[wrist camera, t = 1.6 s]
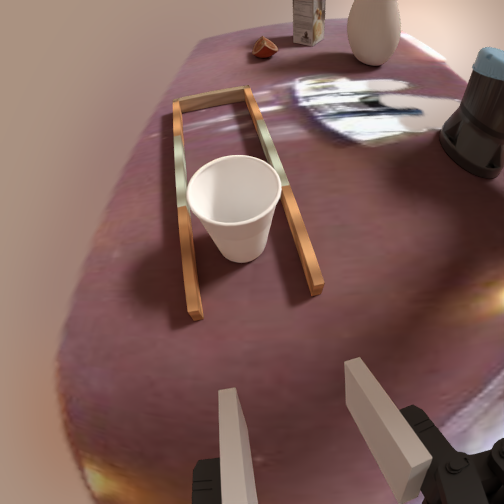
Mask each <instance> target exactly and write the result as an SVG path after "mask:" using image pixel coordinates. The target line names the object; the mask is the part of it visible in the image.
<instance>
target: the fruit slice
mask: <svg viewBox="0 0 504 504" xmlns="http://www.w3.org/2000/svg"><path fill="white" fill-rule="evenodd" d="M277 51H278V48H277V47H276V45H275V44H274V43H273V42H271V41H270V40H268V39H267V38H265V37H263V36H262V37H261V38H260V39H258V41H257V42H256V43H255V46H254V48H253V51H252V54H253V55H255V56H256V57H259V58H266V57H270V56H272V55H274V54H275V53H276V52H277Z"/></svg>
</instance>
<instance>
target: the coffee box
mask: <svg viewBox="0 0 504 504" xmlns="http://www.w3.org/2000/svg"><path fill="white" fill-rule="evenodd" d="M324 28H325V0H293V42H294V43H298V44H303V45H308V46H314V45H315V44H317V43H318V42H320V41H321V40H322V39H324Z"/></svg>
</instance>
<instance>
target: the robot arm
mask: <svg viewBox="0 0 504 504" xmlns="http://www.w3.org/2000/svg"><path fill="white" fill-rule="evenodd" d="M472 68H473V71H472V74H471V76H470V79H469V82H468V85H467V88H466V90H465V93H464V96H463V98H462V101H461V104H460V106H459V108H458V109H457V110H456V111H455V112H454V113H453V114H452V115H451V117H450V118H449V119H448V120H447V121H446V122H445V123H444V125H443V127H442V129H441V132H440V135H439V138H440V142H441V145H442V147H443V148H444V150H445V151H446V153H447V154H448V155H449V156H450V157H451V158H452V159H453V160H454V161H455V162H456V163H457V164H458V165H460V166H461V167H462V168H464V169H465V170H467V171H469V172H470V173H472V174H474V175H477V176H480V177H483V178H495V177H497V176H498V175H499V173H500V172H501V170H502V168H503V167H504V51H503V50H500V49H496V48H490V47H485V48H482V49H481V50H480V51H479V53H478V55H477V58H476V61H475V63H474V64H473V66H472ZM344 367H345V393H346V406H347V408H348V409H349V411H350V413H351V415H352V417H353V419H354V421H355V422H356V424H357V426H358V428H359V430H360V432H361V434H362V436H363V437H364V439H365V441H366V443H367V445H368V447H369V449H370V451H371V452H372V454H373V456H374V458H375V460H376V462H377V464H378V466H379V467H380V469H381V471H382V473H383V475H384V477H385V479H386V481H387V483H388V485H389V486H390V488H391V490H392V492H393V494H394V496H395V498H396V500H397V502H398V504H403V503H405V502H408V501H410V500H412V499H414V498H416V497H418V495H419V492H420V490H421V492H422V493H423V495H424V497H425V498H424V500H423V502H422V504H504V438H502V439H500V440H498V441H497V442H496V443H495V444H494V445H493V448H492V449H491V450H488V451H484V452H481V453H477V454H473V455H467V454H466V453H463V452H457V451H456V450H455V449H454V448H453V447H452V446H451V445H450V443H449V442H448V441H447V440H446V438H445V437H444V436H443V435H442V433H441V432H440V431H439V430H438V428H437V427H436V426H435V424H434V423H433V422H432V421H431V420H430V419H429V417H428V416H427V415H426V413H425V412H424V411H423V410H422V409H420V408H418V407H416V406H414V405H410V406H408V407H406V408H403V409H401V410H398V408H397V407H396V406H395V404H394V403H393V402H392V400H391V399H390V397H389V396H388V395H387V393H386V392H385V391H384V389H383V388H382V387H381V385H380V384H379V382H378V381H377V380H376V378H375V377H374V376H373V374H372V373H371V372H370V370H369V369H368V368H367V366H366V365H365V363H364V362H363V361H362V359H361V358H360V357H358V358H355V359H351V360H348V361H345V362H344ZM218 394H219V440H220V458H213V459H205V460H199V461H198V462H197V464H196V466H195V468H194V470H193V484H192V490H193V492H192V504H258V500H257V493H256V487H255V480H254V472H253V465H252V458H251V451H250V443H249V436H248V428H247V425H246V422H245V418H244V415H243V412H242V408H241V405H240V401H239V398H238V395H237V391H236V388H230V389H224V390H218Z"/></svg>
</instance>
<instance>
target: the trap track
mask: <svg viewBox="0 0 504 504" xmlns="http://www.w3.org/2000/svg"><path fill="white" fill-rule="evenodd" d="M241 101H245V102H246V105H247V107H248V110H249V112H250V115H251V118H252V121H253V123H254V126H255V129H256V131H257V134H258V137H259V140H260V142H261V145H262V148H263V151H264V154H265V156H266V159H267V162H268V164H269V165H270V166H271V167H273V168H274V169H275V171H276V172H277V174H278V175H279V178H280V181H281V188H282V191H281V195H280V199H281V202H282V205H283V208H284V211H285V214H286V217H287V220H288V223H289V226H290V229H291V233H292V236H293V239H294V242H295V245H296V248H297V251H298V254H299V257H300V260H301V264H302V267H303V270H304V273H305V276H306V280H307V283H308V286H309V289H310V293H311V296H314V295H319V294H321V293H322V290H323V287H324V284H325V283H324V280H323V277H322V274H321V271H320V268H319V265H318V262H317V259H316V256H315V253H314V251H313V248H312V245H311V242H310V239H309V236H308V233H307V231H306V228H305V225H304V222H303V220H302V217H301V214H300V211H299V209H298V206H297V203H296V201H295V198H294V195H293V193H292V190H291V187H290V185H289V182H288V179H287V177H286V174H285V172H284V169H283V167H282V164H281V161H280V159H279V156H278V154H277V151H276V149H275V146H274V144H273V141H272V139H271V136H270V134H269V132H268V129H267V127H266V124H265V122H264V120H263V117H262V115H261V112H260V110H259V108H258V105H257V103H256V101H255V98H254V96H253V94H252V91H251V89H250V87H249V85H246V86H240V87H234V88H228V89H222V90H216V91H211V92H206V93H201V94H196V95H191V96H187V97H182V98H178V99H174V100H173V131H174V157H175V177H176V194H177V208H178V222H179V234H180V245H181V256H182V266H183V275H184V285H185V293H186V302H187V310H188V313H189V315H190V316H191V317H192V319H193V320H194V321H196V320H201V319H204V317H203V310H202V303H201V296H200V289H199V282H198V275H197V267H196V259H195V251H194V243H193V234H192V225H191V216H190V208H189V205H188V203H187V198H186V191H187V175H186V164H185V152H184V139H183V124H182V113H184V112H189V111H193V110H198V109H203V108H208V107H213V106H218V105H223V104H229V103H235V102H241Z"/></svg>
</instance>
